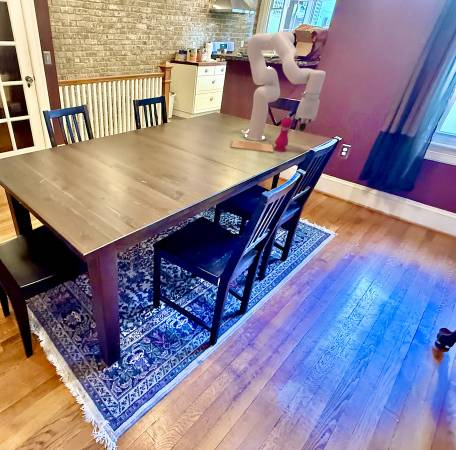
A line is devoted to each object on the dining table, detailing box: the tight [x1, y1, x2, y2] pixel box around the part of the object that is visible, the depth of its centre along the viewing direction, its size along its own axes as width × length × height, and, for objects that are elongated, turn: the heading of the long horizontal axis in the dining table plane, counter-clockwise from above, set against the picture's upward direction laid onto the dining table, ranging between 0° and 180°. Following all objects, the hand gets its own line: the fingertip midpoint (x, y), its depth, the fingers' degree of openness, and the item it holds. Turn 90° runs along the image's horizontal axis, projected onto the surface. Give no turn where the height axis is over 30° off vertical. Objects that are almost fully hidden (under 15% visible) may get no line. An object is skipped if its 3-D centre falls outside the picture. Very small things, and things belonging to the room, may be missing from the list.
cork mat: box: [231, 139, 274, 154], centre depth 185 cm, size 24×14×1 cm, turn 73°
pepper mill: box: [273, 114, 293, 153], centre depth 177 cm, size 7×7×20 cm
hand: (301, 130), depth 173 cm, fingers closed
